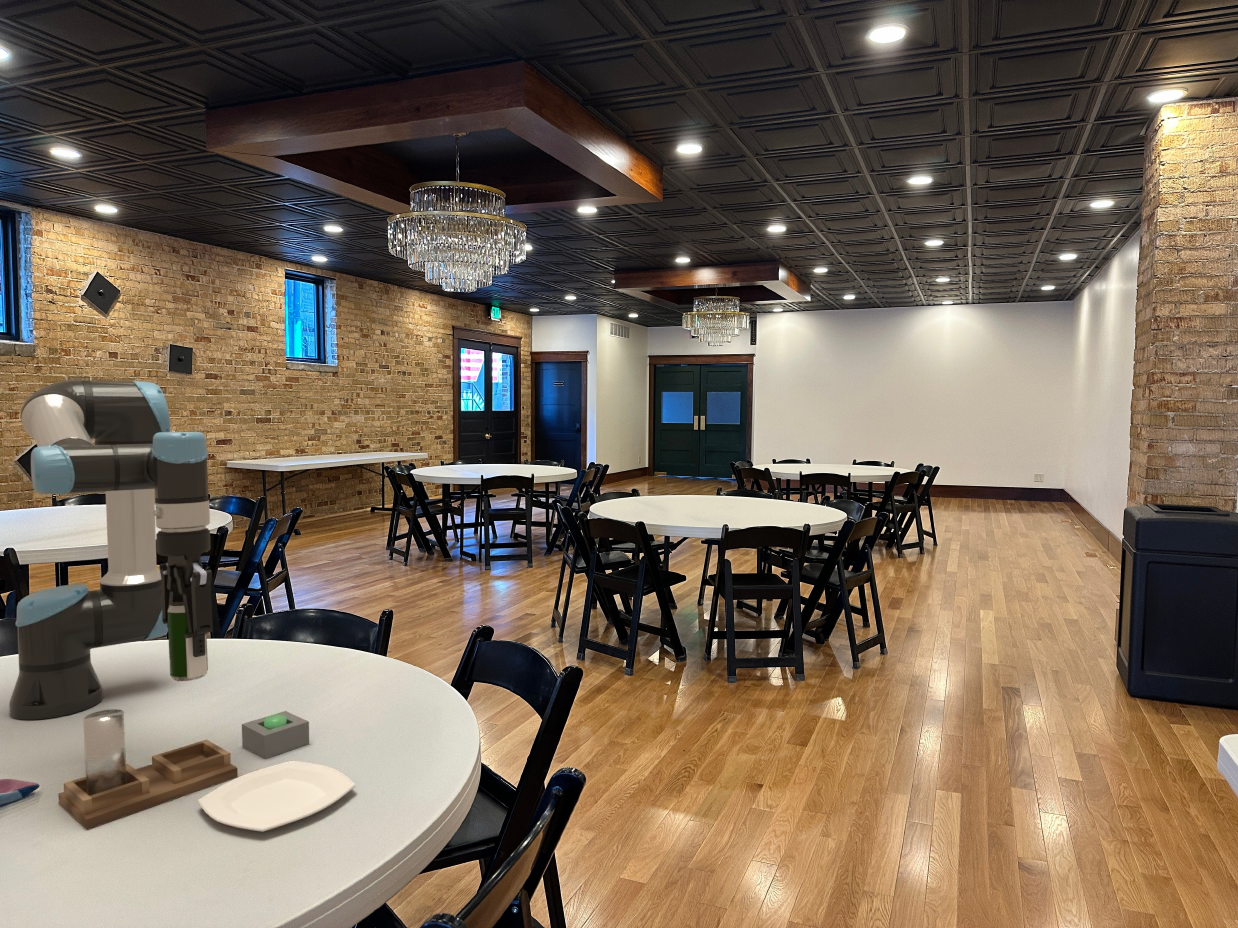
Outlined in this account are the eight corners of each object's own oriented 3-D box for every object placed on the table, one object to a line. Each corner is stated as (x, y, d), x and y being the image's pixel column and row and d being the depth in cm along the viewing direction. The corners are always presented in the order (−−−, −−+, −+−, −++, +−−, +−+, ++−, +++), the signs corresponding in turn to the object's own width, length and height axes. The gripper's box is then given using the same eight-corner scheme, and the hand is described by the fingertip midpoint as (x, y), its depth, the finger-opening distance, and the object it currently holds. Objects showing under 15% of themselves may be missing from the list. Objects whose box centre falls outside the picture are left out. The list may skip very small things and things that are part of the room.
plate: (259, 853, 106) (258, 838, 106) (179, 814, 116) (178, 801, 116) (373, 794, 122) (373, 782, 122) (294, 765, 133) (294, 753, 132)
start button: (260, 735, 139) (260, 718, 139) (280, 729, 142) (279, 712, 142) (270, 740, 137) (270, 723, 137) (290, 734, 140) (290, 717, 140)
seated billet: (81, 795, 118) (78, 716, 117) (119, 783, 122) (116, 706, 121) (94, 805, 115) (90, 724, 114) (132, 793, 119) (129, 714, 118)
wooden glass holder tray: (58, 803, 119) (57, 780, 119) (204, 756, 135) (203, 736, 135) (87, 829, 111) (86, 805, 111) (237, 776, 128) (237, 755, 127)
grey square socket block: (242, 746, 139) (241, 723, 139) (286, 732, 145) (285, 710, 145) (265, 758, 134) (264, 735, 134) (309, 743, 140) (308, 721, 140)
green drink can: (171, 683, 124) (168, 608, 124) (168, 675, 129) (165, 601, 128) (210, 677, 127) (207, 603, 127) (206, 669, 132) (203, 597, 131)
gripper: (134, 526, 130) (140, 667, 131) (183, 535, 118) (189, 689, 119) (183, 522, 135) (188, 656, 137) (234, 530, 124) (239, 677, 125)
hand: (188, 671), depth 128 cm, fingers closed on green drink can, 5 cm apart
